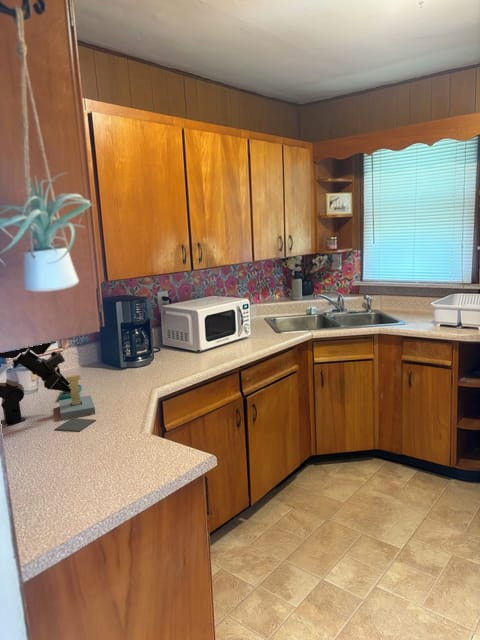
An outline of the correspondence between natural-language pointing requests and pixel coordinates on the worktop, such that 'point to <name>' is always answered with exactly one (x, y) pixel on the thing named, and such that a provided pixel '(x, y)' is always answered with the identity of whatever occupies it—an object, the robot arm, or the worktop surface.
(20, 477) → the worktop surface
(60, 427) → the rubber mat
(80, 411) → the block
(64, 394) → the digital multimeter
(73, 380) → the brass key
